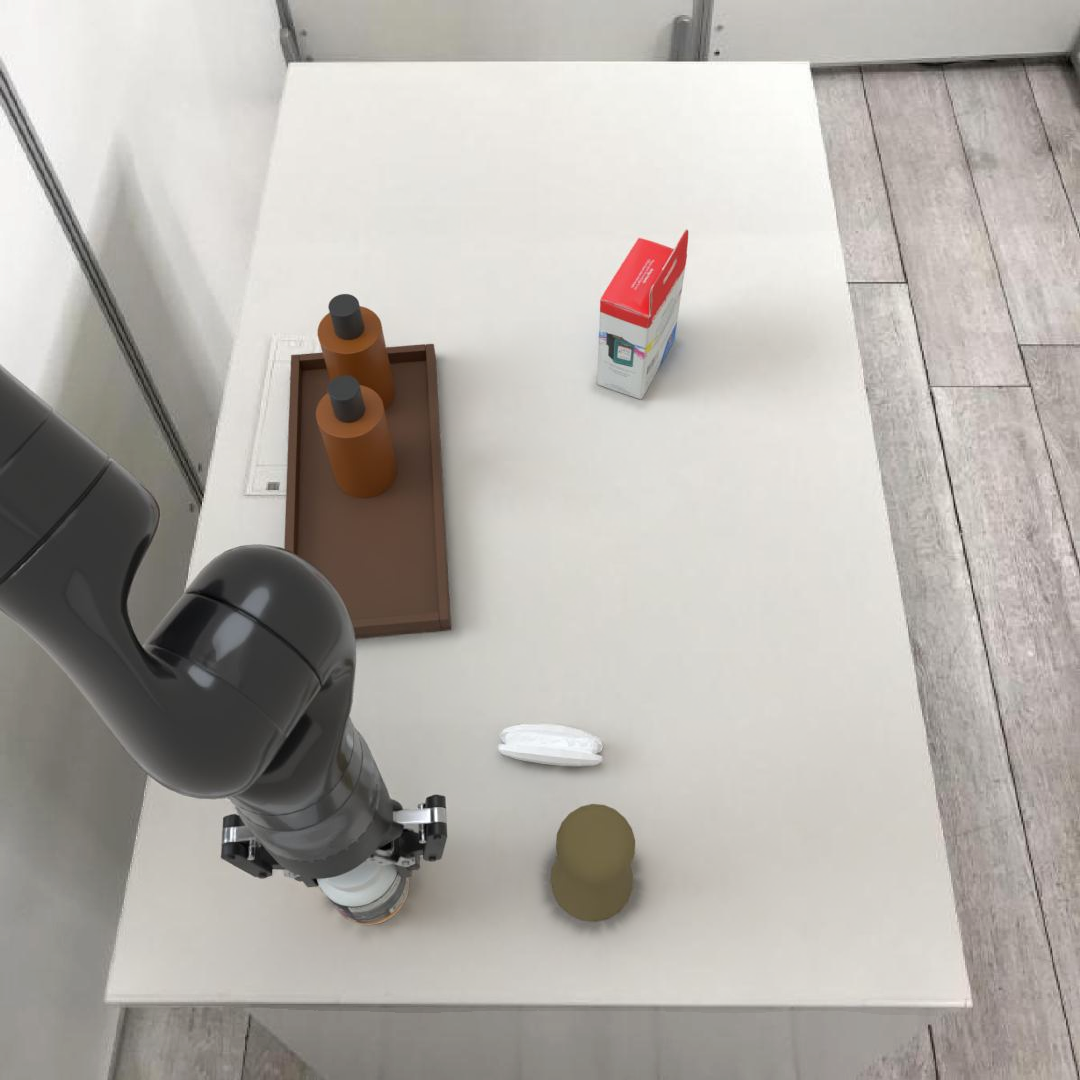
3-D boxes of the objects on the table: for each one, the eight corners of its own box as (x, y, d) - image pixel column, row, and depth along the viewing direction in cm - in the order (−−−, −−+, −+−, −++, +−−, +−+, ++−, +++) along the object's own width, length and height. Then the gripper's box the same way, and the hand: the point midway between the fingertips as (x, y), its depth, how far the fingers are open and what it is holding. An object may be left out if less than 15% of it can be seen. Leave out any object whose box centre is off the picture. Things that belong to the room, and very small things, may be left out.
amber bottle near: (335, 500, 94) (307, 417, 84) (335, 449, 97) (309, 363, 87) (398, 495, 95) (378, 412, 84) (396, 444, 98) (377, 358, 87)
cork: (628, 834, 79) (638, 788, 70) (637, 918, 76) (648, 882, 67) (547, 840, 79) (546, 794, 70) (553, 924, 76) (552, 888, 67)
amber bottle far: (335, 420, 99) (309, 332, 89) (335, 373, 102) (310, 283, 92) (395, 415, 99) (377, 326, 89) (394, 368, 102) (376, 278, 92)
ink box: (630, 324, 105) (640, 208, 93) (676, 341, 104) (693, 225, 92) (594, 385, 101) (599, 273, 89) (641, 403, 100) (654, 292, 88)
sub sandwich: (600, 775, 82) (601, 763, 79) (497, 764, 82) (495, 751, 80) (604, 737, 83) (605, 724, 81) (502, 726, 84) (501, 712, 82)
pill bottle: (321, 869, 78) (292, 831, 70) (393, 833, 80) (373, 792, 71) (350, 941, 76) (324, 911, 67) (424, 903, 77) (407, 869, 69)
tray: (286, 644, 88) (281, 634, 86) (295, 368, 103) (291, 354, 101) (451, 629, 88) (449, 619, 87) (435, 357, 104) (433, 343, 102)
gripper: (439, 714, 61) (461, 803, 75) (185, 738, 60) (257, 823, 75) (445, 846, 57) (468, 913, 71) (174, 872, 56) (252, 935, 71)
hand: (360, 867), depth 73 cm, fingers closed on pill bottle, 5 cm apart
